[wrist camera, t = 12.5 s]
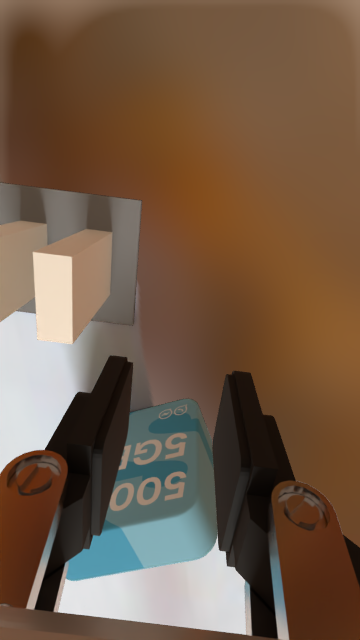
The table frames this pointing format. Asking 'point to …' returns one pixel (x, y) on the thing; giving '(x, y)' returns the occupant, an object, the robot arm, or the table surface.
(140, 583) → the table surface
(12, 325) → the table surface
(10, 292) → the domino
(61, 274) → the domino
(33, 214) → the domino mat
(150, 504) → the data package
